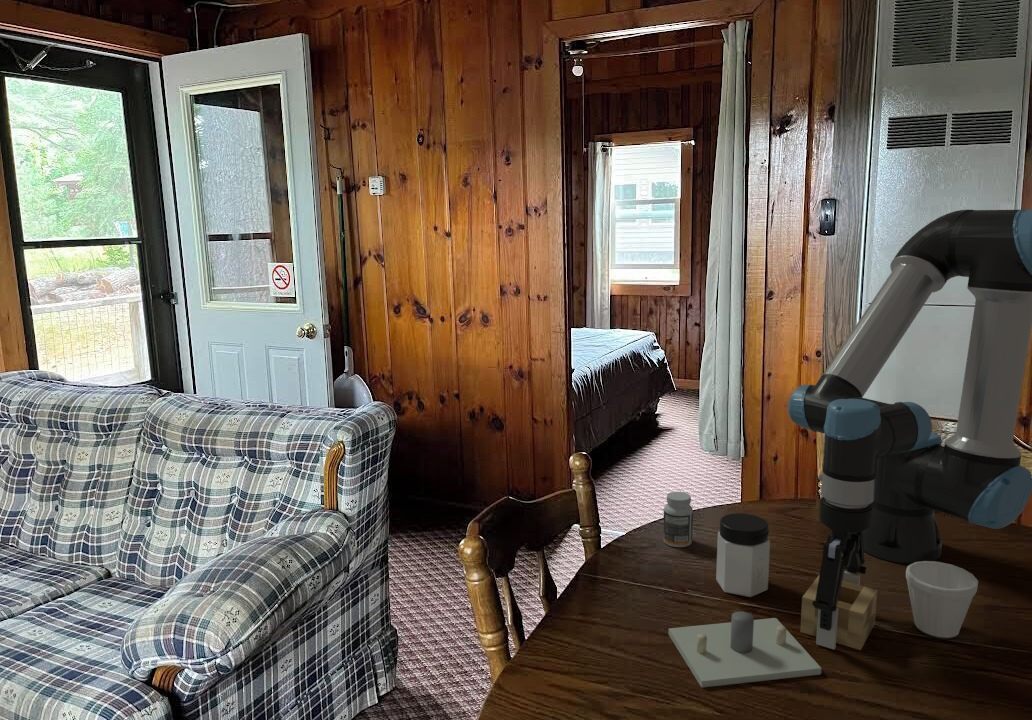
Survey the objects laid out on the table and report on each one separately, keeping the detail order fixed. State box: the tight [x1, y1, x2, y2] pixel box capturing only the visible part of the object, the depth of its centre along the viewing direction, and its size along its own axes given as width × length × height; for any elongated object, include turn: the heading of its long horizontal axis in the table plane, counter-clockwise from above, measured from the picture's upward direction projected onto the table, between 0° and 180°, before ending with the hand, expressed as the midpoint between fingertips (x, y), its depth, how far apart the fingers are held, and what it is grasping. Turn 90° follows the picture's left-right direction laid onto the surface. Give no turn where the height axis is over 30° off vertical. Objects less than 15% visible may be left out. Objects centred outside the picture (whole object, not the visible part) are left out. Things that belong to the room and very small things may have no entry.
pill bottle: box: [662, 491, 694, 548], centre depth 155 cm, size 6×6×10 cm
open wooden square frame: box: [799, 574, 878, 651], centre depth 124 cm, size 9×9×6 cm
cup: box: [905, 561, 979, 640], centre depth 123 cm, size 10×10×9 cm
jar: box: [715, 512, 771, 598], centre depth 137 cm, size 9×8×12 cm
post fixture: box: [668, 611, 822, 688], centre depth 117 cm, size 18×14×6 cm
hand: (837, 627), depth 124 cm, fingers open, 12 cm apart
